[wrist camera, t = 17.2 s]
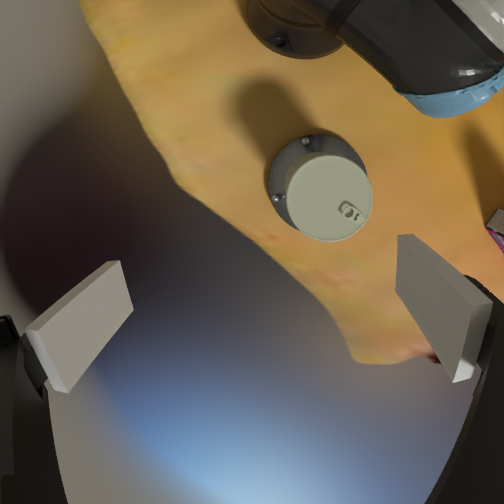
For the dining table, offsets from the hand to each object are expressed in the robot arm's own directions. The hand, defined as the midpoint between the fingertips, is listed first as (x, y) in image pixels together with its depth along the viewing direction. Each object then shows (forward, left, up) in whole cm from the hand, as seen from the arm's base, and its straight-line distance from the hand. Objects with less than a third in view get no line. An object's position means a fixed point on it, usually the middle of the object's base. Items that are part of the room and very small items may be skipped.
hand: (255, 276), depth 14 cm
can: (+2, +6, -31) cm, 31 cm away
